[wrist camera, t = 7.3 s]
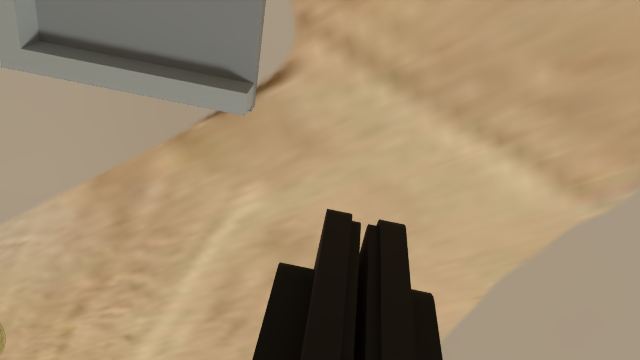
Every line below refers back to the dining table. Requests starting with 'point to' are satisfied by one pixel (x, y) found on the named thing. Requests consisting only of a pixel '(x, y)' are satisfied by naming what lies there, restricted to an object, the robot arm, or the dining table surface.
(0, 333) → the potted cactus
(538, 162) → the dining table surface
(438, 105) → the dining table surface
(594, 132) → the dining table surface
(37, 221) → the dining table surface
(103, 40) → the u rest
